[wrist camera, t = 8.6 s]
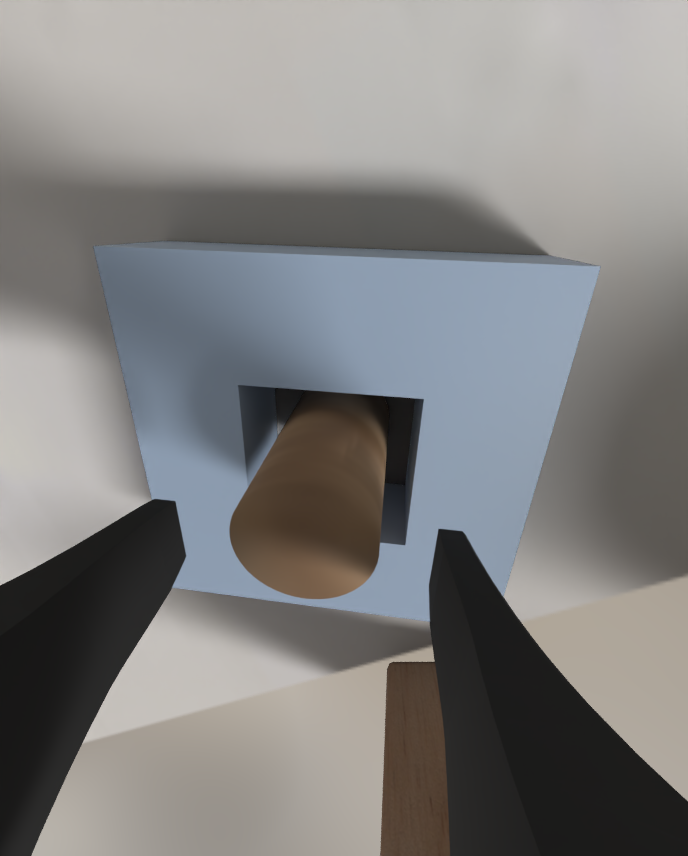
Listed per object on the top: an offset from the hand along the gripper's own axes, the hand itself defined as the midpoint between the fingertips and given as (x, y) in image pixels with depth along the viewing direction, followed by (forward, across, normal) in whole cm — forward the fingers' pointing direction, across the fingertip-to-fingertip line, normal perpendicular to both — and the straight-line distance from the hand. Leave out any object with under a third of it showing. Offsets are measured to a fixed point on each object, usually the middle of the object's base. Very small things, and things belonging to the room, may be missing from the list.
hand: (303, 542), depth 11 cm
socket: (+8, 0, 0) cm, 8 cm away
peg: (+8, 0, 0) cm, 8 cm away
